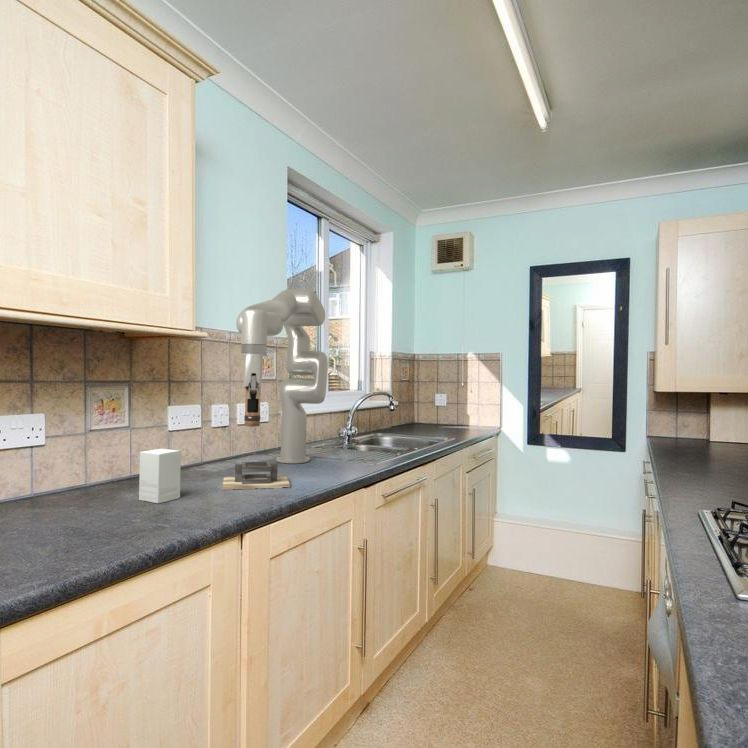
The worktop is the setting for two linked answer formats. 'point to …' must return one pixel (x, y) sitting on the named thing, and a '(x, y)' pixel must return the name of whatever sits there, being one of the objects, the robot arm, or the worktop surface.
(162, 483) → the supplement box
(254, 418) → the tube
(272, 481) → the collar stand
